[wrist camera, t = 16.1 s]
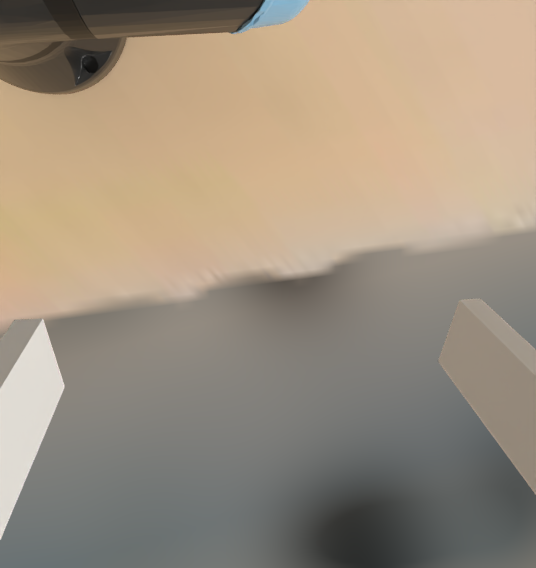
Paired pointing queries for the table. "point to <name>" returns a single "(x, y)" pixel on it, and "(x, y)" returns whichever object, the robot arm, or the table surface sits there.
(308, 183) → the table surface
